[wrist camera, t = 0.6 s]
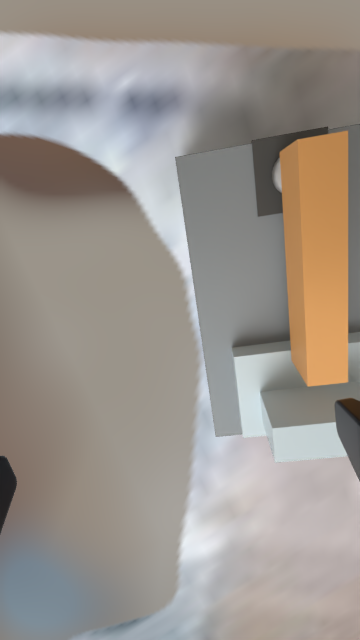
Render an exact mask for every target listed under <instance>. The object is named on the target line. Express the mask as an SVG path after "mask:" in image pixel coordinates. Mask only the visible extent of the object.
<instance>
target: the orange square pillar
mask: <svg viewBox="0 0 360 640" xmlns="http://www.w3.org/2000/svg"><path fill="white" fill-rule="evenodd" d="M272 180H273V183H274V186H275V187H276V189H277V190H278V191H280V192H281V193H282V203H283V221H284V238H285V256H286V273H287V291H288V308H289V326H290V343H291V361H292V362H293V364H294V365H295V367H296V369H297V370H298V372H299V373H300V375H301V377H302V378H303V380H304V381H305V383H306V385H307V386H308V387H310V386H319V385H328V384H338V383H347V382H348V131H342V132H337V133H331V134H325V135H320V136H314V137H309V138H303V139H298V140H296V141H295V142H293V143H292V144H290V145H289V146H287V147H286V148H285V149H283V150H282V151H280V157H279V158H278V160H277V161H276V162H275V164H274V167H273V170H272Z"/></svg>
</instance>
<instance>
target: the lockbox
mask: <svg viewBox="0 0 360 640" xmlns="http://www.w3.org/2000/svg"><path fill="white" fill-rule="evenodd" d="M342 131H348V333H355V332H360V124H357V125H351V126H346V127H340V128H335V129H329V130H328V127H324V128H318V129H312V130H307V131H301V132H296V133H290V134H285V135H279V136H274V137H268V138H263V139H257V140H252V143H251V144H246V145H240V146H234V147H229V148H223V149H218V150H212V151H207V152H201V153H196V154H190V155H184V156H179V157H175V159H176V166H177V173H178V180H179V187H180V194H181V201H182V207H183V214H184V221H185V228H186V235H187V242H188V249H189V256H190V263H191V269H192V276H193V283H194V290H195V297H196V304H197V311H198V318H199V325H200V331H201V338H202V345H203V352H204V359H205V366H206V373H207V380H208V387H209V393H210V400H211V407H212V414H213V421H214V428H215V435H216V437H221V436H231V435H241V434H242V429H241V425H240V416H239V408H238V399H237V390H236V382H235V373H234V365H233V356H232V348H233V347H241V346H249V345H257V344H265V343H273V342H281V341H290V326H289V308H288V291H287V273H286V256H285V238H284V221H283V203H282V193H281V192H280V191H278V190H277V189H276V187H275V186H274V183H273V180H272V170H273V167H274V164H275V162H276V161H277V160H278V158H279V157H280V151H282V150H283V149H285V148H286V147H287V146H289V145H290V144H292V143H293V142H295V141H296V140H298V139H303V138H309V137H314V136H320V135H325V134H331V133H337V132H342Z"/></svg>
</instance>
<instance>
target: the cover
mask: <svg viewBox="0 0 360 640" xmlns="http://www.w3.org/2000/svg"><path fill="white" fill-rule="evenodd" d="M232 356H233V365H234V373H235V382H236V390H237V399H238V408H239V416H240V425H241V429H242V434H243V438H247V437H257V436H267V438H268V441H269V444H270V448H271V451H272V454H273V457H274V460H275V463H277V462H288V461H300V460H311V459H322V458H333V457H344V456H348V455H347V453H346V451H345V449H344V447H343V445H342V442H341V440H340V438H339V436H338V433H337V429H336V418H335V407H334V405H335V401H336V400H340V399H346V398H354V399H356V400H359V401H360V332H355V333H348V382H347V383H338V384H328V385H319V386H310V387H308V386H307V385H306V383H305V381H304V380H303V378H302V377H301V375H300V373H299V372H298V370H297V369H296V367H295V365H294V364H293V362H292V361H291V343H290V341H281V342H273V343H265V344H257V345H249V346H241V347H233V348H232Z"/></svg>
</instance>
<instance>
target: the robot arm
mask: <svg viewBox="0 0 360 640" xmlns="http://www.w3.org/2000/svg"><path fill="white" fill-rule="evenodd" d="M334 407H335V418H336V429H337V433H338V436H339V438H340V440H341V442H342V445H343V447H344V449H345V451H346V453H347V455H348V457H349V460H350V462H351V464H352V466H353V468H354V470H355V472H356V474H357V477H358V479H359V481H360V401H359V400H356V399H354V398H346V399H340V400H336V401H335V405H334ZM16 485H17V481H16V477H15V474H14V472H13V470H12V468H11V466H10V464H9V462H8V460H7V458H6V457H5V456H0V533H1V530H2V527H3V524H4V521H5V518H6V516H7V513H8V510H9V507H10V504H11V501H12V498H13V495H14V492H15V490H16Z"/></svg>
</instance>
